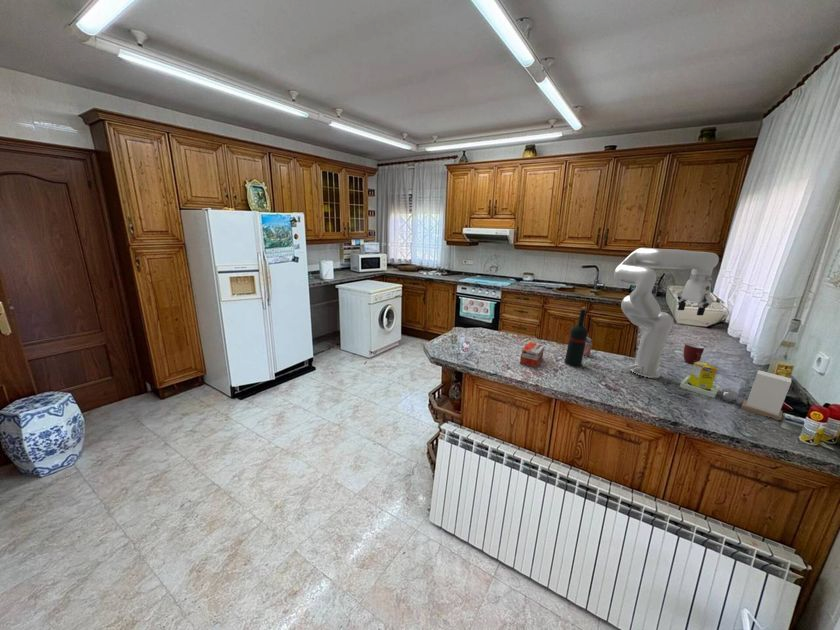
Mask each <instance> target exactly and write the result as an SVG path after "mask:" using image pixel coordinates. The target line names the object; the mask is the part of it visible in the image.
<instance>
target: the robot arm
mask: <svg viewBox="0 0 840 630" xmlns="http://www.w3.org/2000/svg"><path fill="white" fill-rule="evenodd" d="M719 261H720V257H719V256H718V254H717V253H715V252H708V251H707V252H706V251H695V250H694V251H693V250H685V249H676V248H675V249H673V248H672V249H670V248H652V247H651V248H650V247H639V248H637V249H635V250H633V251H632V252H631V253H630V254H629V255H628V256H627V257H626V258H625V259H624V260H622V261H621V262H620V263H619V265H617V267H616V268H615V270H614V272H613V278H614V280H615V281H617V282H618V283H621V284H625V285H631V286H635V288H634V289H633V290H632V291H631V292H630V294H628V295H626V296H625V297H623V299H621V300H622V301H621V304H620V305H621V306H620V308H621V311H622V312H623V314H624V316H625V317H626V318H627V319H628V320H629V321H630V323H632V324H633V325H635V326H638V327H641V328H644V329H647V331H646V332H645V333H643V334H641V335H642V336H641V337H640V341H639V344H638V350H637V353H636V357H635V361H634V362H633V363H632V364H627V365H626V366H625V368H626V369H627V370H629V371H630V370H631V371H632V373H633V372H634V373H636V374H635V375H637V374H638V375H637V376H639V375H641V376H640V377H642V376H644V377H643V378H646V377H648V378H647V379H659V378H661V377H660V376H661V373H659V372H658V369H659V366H660V362H661V358H662V354H663V351H664V347H665V344H666V340H667V338H668V335H669V332H670V330H671V329H672V327H673V324H674V319H673V316H672V315H671V314H670V313H667V312H664V311H661V310H662V309H661V306H660V304H659V302H658V300H657V299H656V298H655V297H654V295H653V293H652V291H653V290H654V286H655V284H656V282H657V272H656V271H655V270H654V269H671V270H673V269H675V270H691V271H690V274H689V275H690V276H689V279H688V280H687V281H686V283H685V286H684V288H683V290H682V291H678V292H676V296H677V300H678V302H679V304H678V307H677V311H684V310H685V307H686V305H687V303H686V302H687V301H689V302H693V303H697V304H698V305H699V307H698V308H697V310H696V311H697V312H696V316H704V314H705V311H706V308H708V307H709V306H711V304H713V302H714V301H715V300H714V298H712V297H711V295H710V294H711V290H712V283H711V282H710V281H712V280H713V278H712V274H713V270H714V268H715V267H716V266H717V265H718V263H719ZM631 371H630V372H631ZM634 373H633V374H634Z"/></svg>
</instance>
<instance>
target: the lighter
mask: <svg viewBox="0 0 840 630" xmlns="http://www.w3.org/2000/svg"><path fill="white" fill-rule="evenodd" d="M592 341H593V340H592V339H591V338H590V337H588V336H587V337H586V342H585V347H584V353H583V355H585V356H590V357H591V350H592V347H593V342H592ZM585 356H584V357H585Z"/></svg>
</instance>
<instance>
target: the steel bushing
mask: <svg viewBox="0 0 840 630" xmlns="http://www.w3.org/2000/svg"><path fill="white" fill-rule="evenodd" d="M738 397H739V393H737V392H735V391H732V390H728V389H722V391H721V393H720V396H719V400H720V401H721V402H724V403H726V404H731V405H736V404H737V400H738Z"/></svg>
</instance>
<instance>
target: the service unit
mask: <svg viewBox="0 0 840 630" xmlns="http://www.w3.org/2000/svg"><path fill="white" fill-rule="evenodd" d="M791 384H792V378H791V377H787V376H783V375H780V374H775V373H771V372H766V371H763V370H760V369H758V370H757V372H756V375H755V379H754V381H753V383H752V386H751V389H750V392H749V394H748V397H747V399H745V398H744V399H743V402H742V405H741V407H740V409H741V410H743V411H748V412H750V413H751V412H752V413H753V414H757V415H759V416H763V417H766V416H768V417H767V418H769V417H772V418H774V419H773V420H775V419H778V420H781V421H782V419H783V410H782V407H783V405H784V402H785V400H786V396H787V394H788V391H789V389H790V387H791ZM772 418H771V419H772ZM778 420H777V421H778Z"/></svg>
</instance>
